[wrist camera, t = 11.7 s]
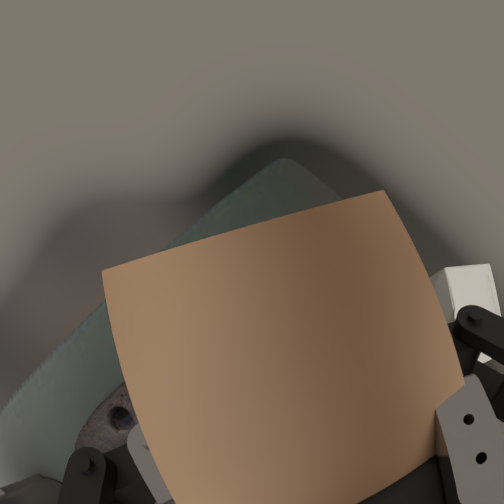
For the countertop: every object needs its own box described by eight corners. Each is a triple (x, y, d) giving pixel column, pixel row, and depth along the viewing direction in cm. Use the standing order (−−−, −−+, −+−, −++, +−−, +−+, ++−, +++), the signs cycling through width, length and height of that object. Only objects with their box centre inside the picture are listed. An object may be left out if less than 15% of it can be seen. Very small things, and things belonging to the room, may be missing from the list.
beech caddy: (227, 434, 12) (209, 556, 2) (191, 333, 14) (101, 270, 4) (331, 397, 13) (473, 429, 3) (294, 300, 14) (383, 189, 5)
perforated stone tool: (106, 465, 22) (79, 483, 16) (78, 432, 23) (46, 442, 17) (188, 398, 26) (174, 408, 20) (155, 363, 28) (134, 363, 21)
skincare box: (414, 367, 28) (508, 355, 14) (370, 378, 28) (462, 378, 14) (407, 304, 31) (492, 261, 17) (364, 309, 31) (446, 265, 17)
